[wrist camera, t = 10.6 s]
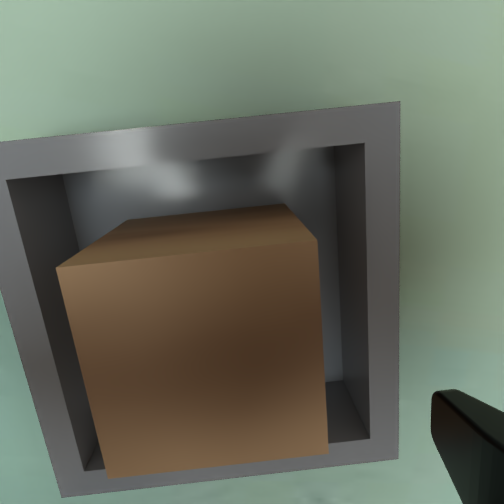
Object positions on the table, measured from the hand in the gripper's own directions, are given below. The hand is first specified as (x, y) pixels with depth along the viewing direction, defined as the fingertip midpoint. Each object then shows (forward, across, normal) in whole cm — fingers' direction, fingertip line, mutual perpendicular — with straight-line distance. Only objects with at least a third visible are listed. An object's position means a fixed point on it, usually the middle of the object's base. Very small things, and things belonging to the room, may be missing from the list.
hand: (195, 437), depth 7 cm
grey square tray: (+10, 0, 0) cm, 10 cm away
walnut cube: (+8, 0, 0) cm, 9 cm away
